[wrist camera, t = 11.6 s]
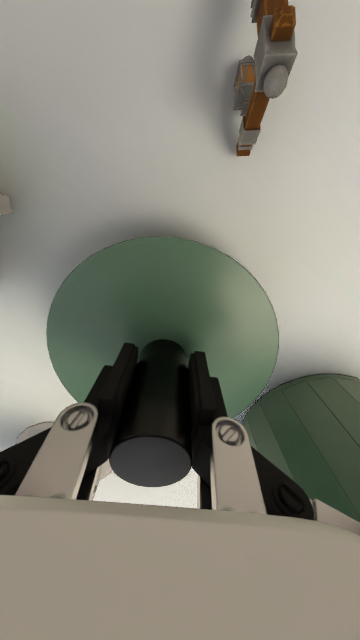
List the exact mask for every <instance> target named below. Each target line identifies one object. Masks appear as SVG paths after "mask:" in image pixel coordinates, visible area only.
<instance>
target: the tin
mask: <svg viewBox="0 0 360 640" xmlns="http://www.w3.org/2000/svg"><path fill="white" fill-rule="evenodd" d="M242 425H243V427H244V428H245V429H246V432H247V434H248V438H249V442H250V445H251V446H252V447H253V448H254V449H255V450H257V451H258V452H259V453H260V454H262V455H263V456H264V457H265V458H266V459H268V460H269V461H270V462H271V463H272V464H274V465H275V466H276V467H277V468H279V469H280V470H281V471H282V472H283V473H285V474H286V475H287V476H288V477H289V478H291V479H292V480H293V481H294V482H296V483H297V484H298V485H299V486H300V487H301V488H302V489H303V490H304V492H305V493H306V495H307V496H308V497H309V499H311V500H314V499H315V498H316V499H318V500H319V501H321V502H323V503H325V504H327V505H329V506H330V507H332V508H334V509H336V510H338V511H339V512H341V513H343V514H345V515H347V516H349V517H350V518H352V519H354V520H356V521H358V522H359V523H360V380H359V379H356V378H353V377H350V376H345V375H337V374H320V375H312V376H307V377H303V378H299V379H296V380H293V381H290V382H287V383H285V384H283V385H280V386H278V387H277V388H275V389H273V390H271V391H270V392H268V393H267V394H265V395H264V396H263V397H261V398H260V399H259V400H258V401H257V402H256V403H255V404H254V405H253V406H252V407H251V409H250V410H249V411H248V413H247V414H246V416H245V418H244V420H243V423H242Z"/></svg>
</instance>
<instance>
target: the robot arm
mask: <svg viewBox="0 0 360 640" xmlns="http://www.w3.org/2000/svg"><path fill="white" fill-rule="evenodd" d="M137 363H138V347H136V346H135V344H134V343H124V344H123V346H122V348H121V350H120V352H119V354H118V357H117V359H116V361H115V363H114V365H113V366H111V365H104V367H103V368H102V370H101V372H100V374H99V376H98V377H97V379H96V381H95V383H94V385H93V386H92V388H91V390H90V392H89V394H88V395H87V397H86V399H85V401H84V402H81V403H76V404H72V405H70V406H68V407H66V408H65V409H64V410H63V411H61V413H60V414H59V415H58V417H57V418H56V420H55V422H54V424H53V426H52V427H50V428H48V429H46V430H44V431H42V432H40V433H38V434H36V435H34V436H32V437H30V438H28V439H26V440H24V441H22V442H20V443H18V444H16V445H14V446H12V447H10V448H8V449H6V450H4V451H2V452H0V640H360V523H359V522H358V521H356V520H354V519H352V518H350V517H349V516H347V515H345V514H343V513H341V512H339V511H338V510H336V509H334V508H332V507H330V506H329V505H327V504H325V503H323V502H321V501H319V500H318V499H316V498H315V499H314V500H311V499H309V497H308V496H307V495H306V493H305V492H304V490H303V489H302V488H301V487H300V486H299V485H298V484H297V483H296V482H294V481H293V480H292V479H291V478H289V477H288V476H287V475H286V474H285V473H283V472H282V471H281V470H280V469H279V468H277V467H276V466H275V465H274V464H272V463H271V462H270V461H269V460H268V459H266V458H265V457H264V456H263V455H262V454H260V453H259V452H258V451H257V450H255V449H254V448H253V447H252V446H251V445H250V442H249V438H248V434H247V432H246V429H245V428H244V427H243V425H242V424H240V423H239V422H238V421H236V420H235V419H233V418H230V417H228V415H227V411H226V407H225V403H224V399H223V396H222V392H221V388H220V384H219V380H218V378H217V377H210V375H209V370H208V365H207V360H206V355H205V352H201V351H195V352H194V353H191V354H190V359H189V364H188V387H189V405H190V424H191V442H192V461H193V462H192V468H193V469H194V470H195V472H196V473H197V474H198V495H197V509H195V508H183V507H169V506H156V505H143V504H130V503H116V502H103V501H91V500H92V496H93V492H94V488H95V484H96V480H97V476H98V472H99V467H100V466H101V465H102V464H103V463H105V462H106V461H107V460H108V459H109V453H110V450H111V447H112V444H113V440H114V437H115V434H116V431H117V428H118V424H119V421H120V418H121V415H122V412H123V408H124V405H125V402H126V399H127V396H128V392H129V389H130V386H131V383H132V380H133V376H134V373H135V370H136V367H137Z"/></svg>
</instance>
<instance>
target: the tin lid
mask: <svg viewBox="0 0 360 640" xmlns="http://www.w3.org/2000/svg"><path fill="white" fill-rule="evenodd" d="M46 333H47V346H48V351H49V355H50V359H51V362H52V364H53V367H54V370H55V372H56V374H57V375H58V377H59V379H60V381H61V382H62V384H63V385H64V387H65V388H66V389H67V391H68V392H69V393H70V394H71V395H72V396H73V398H74V399H75V400H76V401H77V402H78V403H81V402H84V401H85V399H86V397H87V395H88V394H89V392H90V390H91V388H92V386H93V385H94V383H95V381H96V379H97V377H98V376H99V374H100V372H101V370H102V368H103V367H104V365H111V366H113V365H114V363H115V361H116V359H117V357H118V354H119V352H120V350H121V348H122V346H123V344H124V343H134V344H135V346H136V347H138V363H137V367H136V370H135V373H134V376H133V380H132V383H131V386H130V389H129V392H128V396H127V399H126V402H125V405H124V408H123V412H122V415H121V418H120V421H119V424H118V428H117V431H116V434H115V437H114V440H113V444H112V447H111V450H110V453H109V463H110V466H111V468H112V470H113V471H114V473H115V474H116V475H117V476H119V477H120V478H121V479H123V480H125V481H127V482H129V483H132V484H135V485H138V486H144V487H162V486H167V485H171V484H174V483H176V482H178V481H180V480H181V479H183V478H184V477H185V476H186V475H187V474H188V473H189V471H190V469H191V466H192V462H193V461H192V442H191V424H190V405H189V387H188V364H189V359H190V354H191V353H194V352H195V351H201V352H205V355H206V360H207V365H208V370H209V375H210V377H217V378H218V380H219V384H220V388H221V392H222V396H223V399H224V403H225V407H226V411H227V415H228V417H230V418H233V417H235V416H236V415H238V414H239V413H241V412H242V411H243V410H245V409H246V408H247V407H248V406H249V405H250V404H251V403H252V402H253V401H254V400H255V399H256V398H257V397H258V395H259V394H260V393H261V392H262V390H263V389H264V387H265V386H266V384H267V383H268V381H269V379H270V376H271V374H272V372H273V370H274V366H275V363H276V360H277V355H278V348H279V331H278V325H277V319H276V316H275V313H274V310H273V306H272V304H271V302H270V300H269V298H268V296H267V294H266V292H265V291H264V290H263V288H262V287H261V285H260V284H259V283H258V281H257V280H256V279H255V278H254V277H253V276H252V275H251V274H250V273H249V272H248V271H247V270H246V269H245V268H244V267H243V266H242V265H240V264H239V263H238V262H236V261H235V260H234V259H232V258H231V257H230V256H228V255H226V254H224V253H222V252H220V251H219V250H217V249H215V248H213V247H210V246H208V245H205V244H202V243H200V242H197V241H192V240H188V239H183V238H179V237H166V236H154V237H141V238H136V239H132V240H127V241H123V242H120V243H117V244H114V245H112V246H109V247H106V248H104V249H102V250H101V251H99V252H97V253H95V254H93V255H92V256H90V257H89V258H87V259H86V260H85V261H83V262H82V263H81V264H80V265H78V266H77V267H76V268H75V269H74V270H73V271H72V272H71V273H70V274H69V276H68V277H67V278H66V279H65V280H64V282H63V283H62V285H61V286H60V288H59V289H58V291H57V293H56V295H55V298H54V300H53V302H52V304H51V308H50V312H49V316H48V321H47V332H46Z"/></svg>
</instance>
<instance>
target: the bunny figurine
mask: <svg viewBox="0 0 360 640" xmlns="http://www.w3.org/2000/svg"><path fill="white" fill-rule="evenodd" d="M11 213H12V209H11V205H10V200H9V196H8V195H5V194H2V193H0V215H2V214H11Z"/></svg>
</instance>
